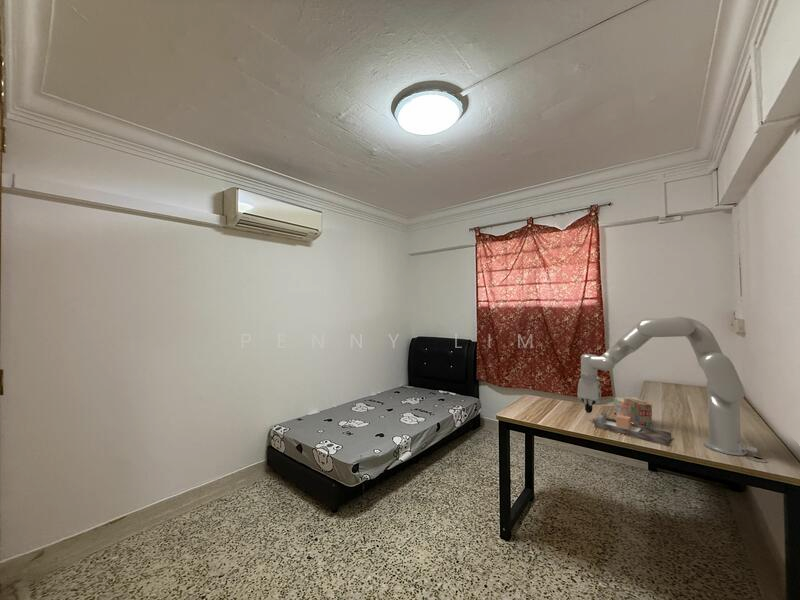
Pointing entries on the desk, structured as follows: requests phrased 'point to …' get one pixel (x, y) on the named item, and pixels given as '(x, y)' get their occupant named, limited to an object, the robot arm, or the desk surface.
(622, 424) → the terracotta block
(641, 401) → the stack of blocks
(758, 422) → the desk surface
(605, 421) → the white sliding panel
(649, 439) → the rail board
